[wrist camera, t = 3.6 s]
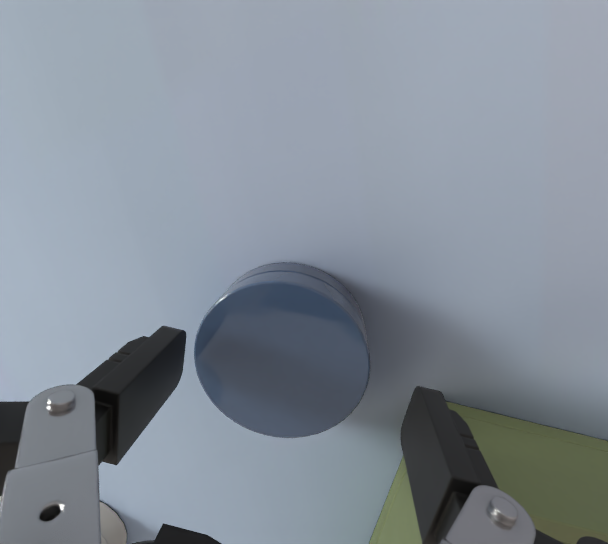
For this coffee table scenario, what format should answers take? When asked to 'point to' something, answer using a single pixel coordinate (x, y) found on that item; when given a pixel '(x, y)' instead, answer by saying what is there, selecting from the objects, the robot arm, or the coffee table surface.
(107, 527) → the chalice
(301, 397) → the blue round puck
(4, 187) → the coffee table surface
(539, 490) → the tub
